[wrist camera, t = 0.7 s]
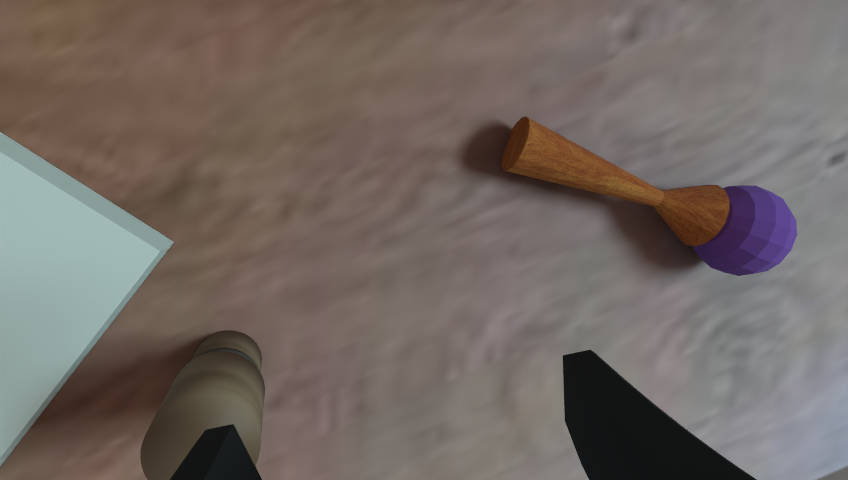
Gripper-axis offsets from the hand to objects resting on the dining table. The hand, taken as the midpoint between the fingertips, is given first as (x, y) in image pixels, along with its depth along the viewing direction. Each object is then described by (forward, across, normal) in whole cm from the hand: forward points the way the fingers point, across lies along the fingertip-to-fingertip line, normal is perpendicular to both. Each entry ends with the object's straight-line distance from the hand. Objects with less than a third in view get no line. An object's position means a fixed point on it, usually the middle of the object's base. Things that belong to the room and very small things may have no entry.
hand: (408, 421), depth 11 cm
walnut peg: (+14, +10, +9) cm, 20 cm away
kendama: (+22, -16, +7) cm, 28 cm away
